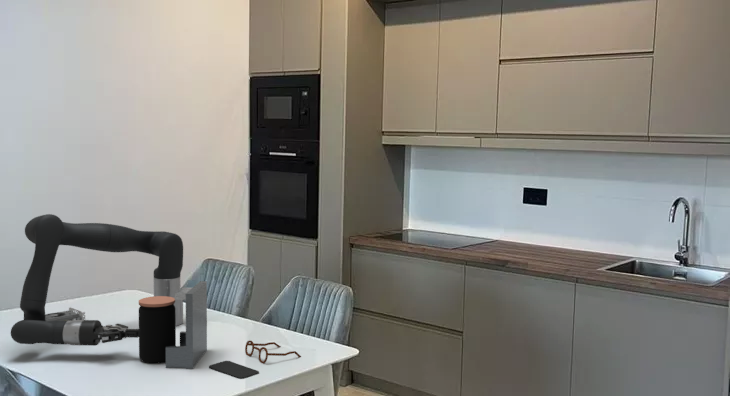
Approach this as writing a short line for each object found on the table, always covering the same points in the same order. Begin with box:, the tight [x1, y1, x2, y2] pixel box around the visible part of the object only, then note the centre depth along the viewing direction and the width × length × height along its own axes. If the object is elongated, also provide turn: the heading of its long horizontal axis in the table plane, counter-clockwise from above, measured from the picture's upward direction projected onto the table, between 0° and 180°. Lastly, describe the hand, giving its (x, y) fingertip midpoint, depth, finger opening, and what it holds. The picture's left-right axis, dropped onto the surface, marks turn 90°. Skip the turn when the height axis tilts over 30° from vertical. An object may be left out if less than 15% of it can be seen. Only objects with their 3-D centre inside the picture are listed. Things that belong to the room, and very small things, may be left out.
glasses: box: [244, 340, 302, 364], centre depth 212 cm, size 13×13×5 cm
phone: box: [208, 360, 260, 380], centre depth 198 cm, size 7×1×15 cm
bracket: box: [165, 280, 208, 370], centre depth 206 cm, size 8×18×22 cm, turn 0°
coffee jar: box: [138, 295, 177, 364], centre depth 206 cm, size 11×11×18 cm
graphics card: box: [45, 306, 86, 321], centre depth 248 cm, size 17×4×12 cm
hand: (139, 333), depth 207 cm, fingers closed
